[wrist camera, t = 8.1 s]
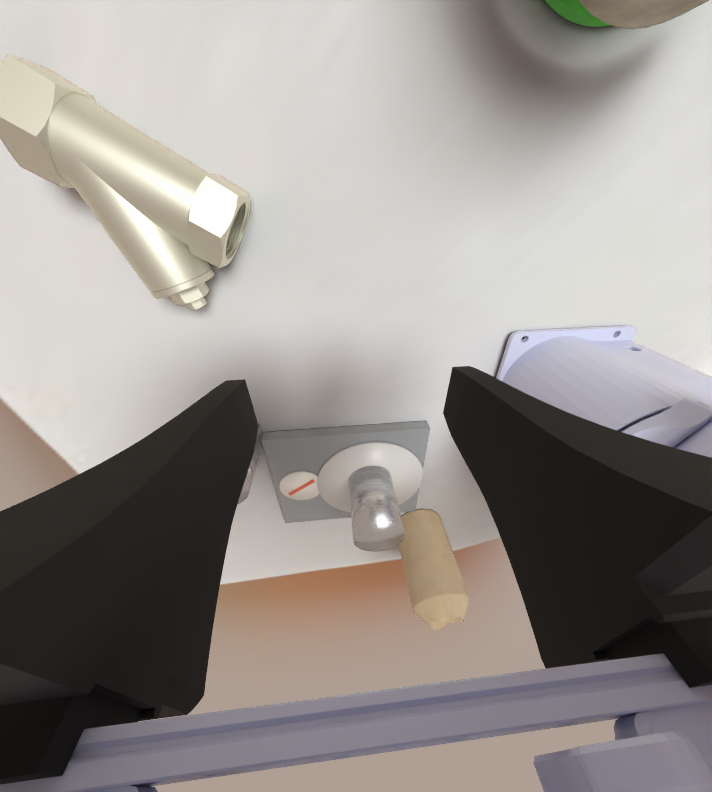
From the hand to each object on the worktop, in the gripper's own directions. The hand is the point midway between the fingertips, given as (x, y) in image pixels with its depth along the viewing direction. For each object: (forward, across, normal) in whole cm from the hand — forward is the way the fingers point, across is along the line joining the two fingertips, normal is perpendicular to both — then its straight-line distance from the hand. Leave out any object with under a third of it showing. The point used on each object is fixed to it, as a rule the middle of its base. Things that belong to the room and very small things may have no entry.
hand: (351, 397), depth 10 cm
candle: (+10, -8, +26) cm, 29 cm away
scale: (+10, 0, +16) cm, 19 cm away
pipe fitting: (+10, +9, -5) cm, 15 cm away
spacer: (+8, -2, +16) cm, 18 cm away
